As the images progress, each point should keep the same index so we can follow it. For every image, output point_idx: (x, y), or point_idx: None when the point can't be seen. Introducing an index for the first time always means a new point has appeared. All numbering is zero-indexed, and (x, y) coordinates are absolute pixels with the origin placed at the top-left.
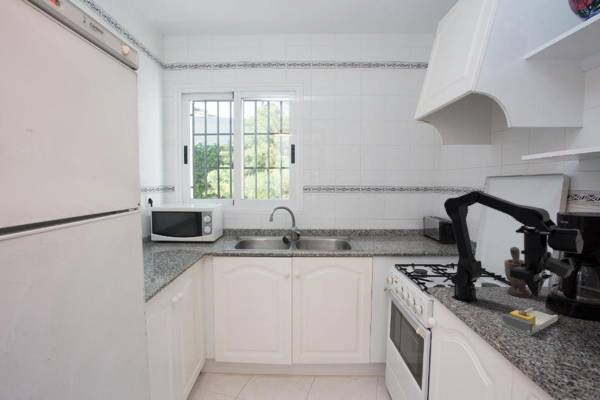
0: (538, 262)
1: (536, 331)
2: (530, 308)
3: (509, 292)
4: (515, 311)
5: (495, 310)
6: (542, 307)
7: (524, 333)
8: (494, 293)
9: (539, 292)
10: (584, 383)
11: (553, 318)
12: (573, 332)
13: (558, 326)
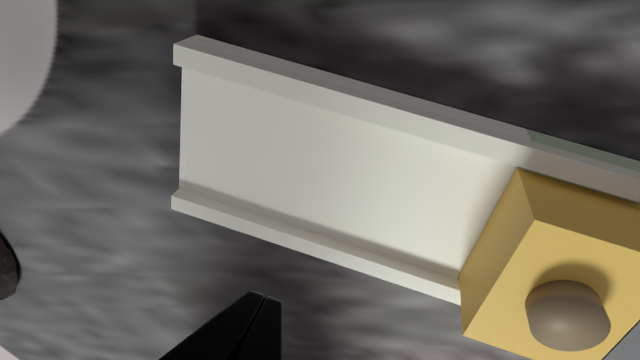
0: None
1: (591, 149)
2: (194, 211)
3: (9, 293)
4: (511, 341)
5: (330, 342)
6: (43, 135)
7: None
8: (75, 338)
9: (229, 336)
10: None
11: (258, 65)
12: None
13: (325, 16)
